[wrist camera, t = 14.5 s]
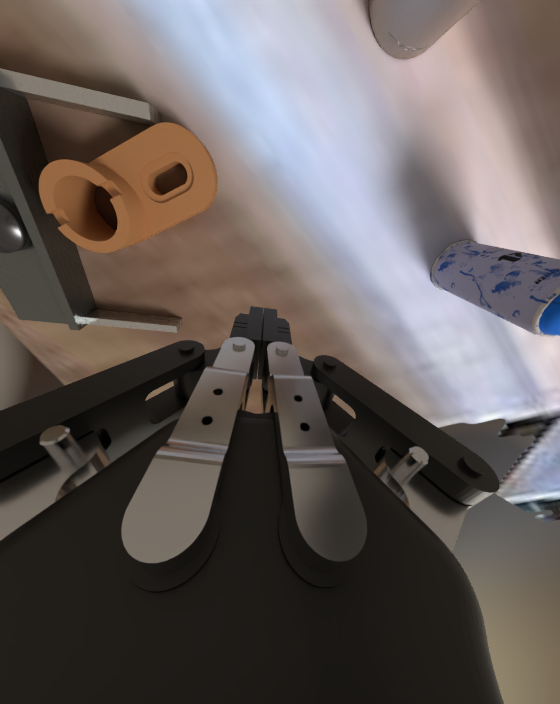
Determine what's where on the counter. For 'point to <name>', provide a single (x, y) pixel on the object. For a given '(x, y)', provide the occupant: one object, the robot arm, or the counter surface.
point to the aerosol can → (503, 283)
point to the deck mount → (41, 228)
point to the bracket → (130, 188)
